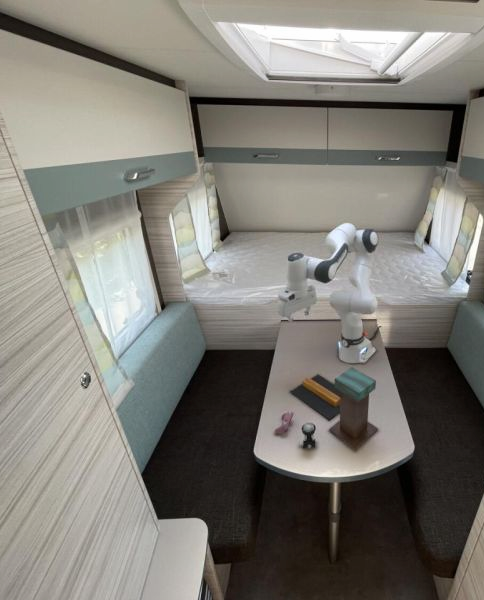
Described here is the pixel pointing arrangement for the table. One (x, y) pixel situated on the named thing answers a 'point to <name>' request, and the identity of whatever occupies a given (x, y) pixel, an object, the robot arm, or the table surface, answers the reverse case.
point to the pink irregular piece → (284, 422)
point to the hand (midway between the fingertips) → (299, 318)
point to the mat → (318, 398)
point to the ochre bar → (321, 392)
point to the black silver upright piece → (308, 435)
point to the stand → (354, 408)
